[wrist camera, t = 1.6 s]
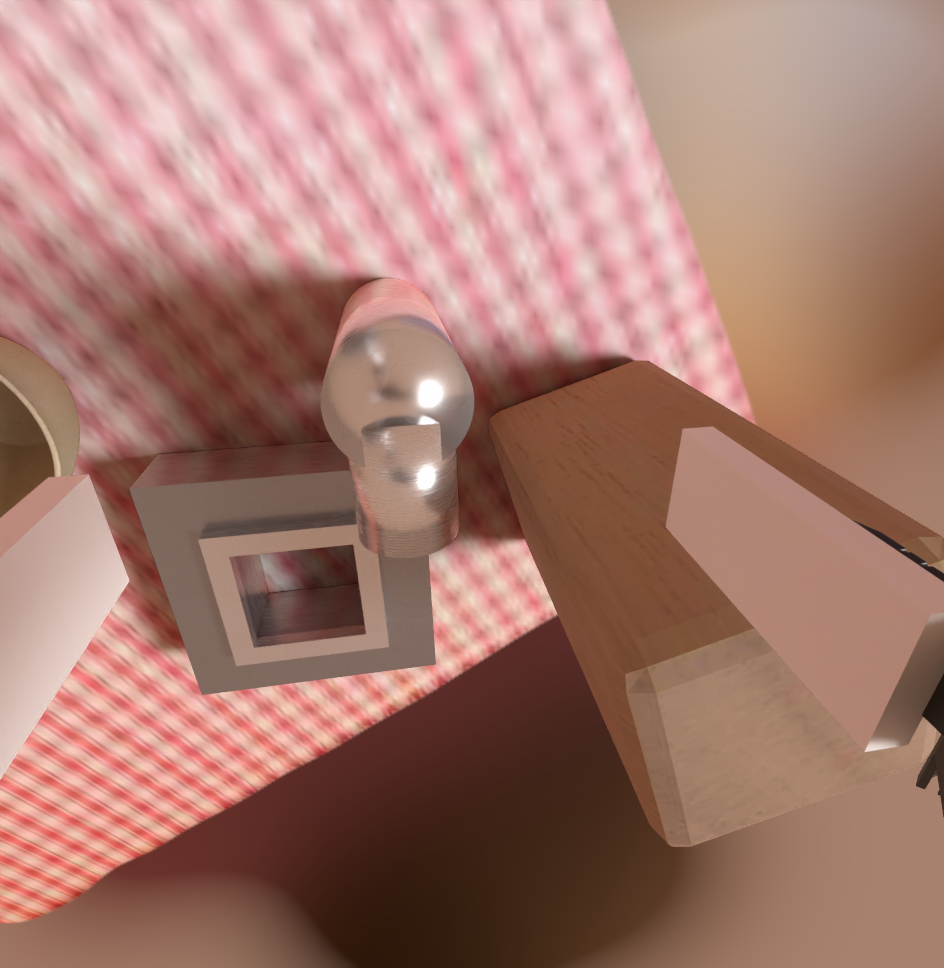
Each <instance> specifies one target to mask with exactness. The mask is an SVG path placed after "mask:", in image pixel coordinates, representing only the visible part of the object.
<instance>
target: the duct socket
mask: <svg viewBox="0 0 944 968" xmlns="http://www.w3.org/2000/svg"><path fill="white" fill-rule="evenodd" d="M129 490H130V493H131V496H132V499H133V501H134V504H135V507H136V510H137V513H138V516H139V518H140V521H141V524H142V527H143V530H144V533H145V535H146V538H147V541H148V544H149V547H150V549H151V552H152V555H153V558H154V561H155V564H156V566H157V569H158V572H159V575H160V578H161V580H162V583H163V586H164V589H165V592H166V595H167V597H168V600H169V603H170V606H171V609H172V612H173V614H174V617H175V620H176V623H177V626H178V628H179V631H180V634H181V637H182V640H183V643H184V645H185V648H186V651H187V654H188V657H189V660H190V662H191V665H192V668H193V671H194V674H195V676H196V679H197V682H198V685H199V688H200V691H201V693H202V695H205V694H213V693H221V692H228V691H236V690H244V689H251V688H259V687H267V686H274V685H282V684H290V683H297V682H305V681H313V680H320V679H328V678H336V677H343V676H351V675H359V674H366V673H374V672H382V671H389V670H397V669H405V668H412V667H420V666H427V665H435V664H436V661H435V646H434V631H433V616H432V601H431V586H430V571H429V556H428V555H424V556H420V557H413V558H391V557H386V556H382V555H378V554H376V553H373V552H371V551H369V550H368V549H367V548H365V547H364V546H363V545H362V543H361V542H360V540H359V535H358V528H357V521H356V513H355V506H354V499H353V492H352V484H351V477H350V470H349V462H348V457H347V456H346V455H345V454H344V453H343V452H342V451H341V450H340V449H339V448H338V447H337V446H336V444H335V443H334V442H333V441H324V442H311V443H298V444H285V445H271V446H258V447H245V448H232V449H219V450H205V451H192V452H179V453H166V454H158V455H157V456H156V457H155V458H154V460H153V461H152V462H151V463H150V464H149V466H148V467H147V468H146V469H145V470H144V471H143V473H142V474H141V475H140V476H139V477H138V479H137V480H136V481H135V482H134V483H133V484H132V486H131V487H130V488H129ZM343 545H353V546H354V553H355V560H356V567H357V574H358V581H359V584H350V585H341V586H331V587H322V588H313V589H304V590H295V591H286V592H277V593H268V588H267V584H266V580H265V576H264V572H263V568H262V564H261V560H260V556H259V554H263V553H273V552H283V551H293V550H303V549H313V548H323V547H333V546H343Z"/></svg>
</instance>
